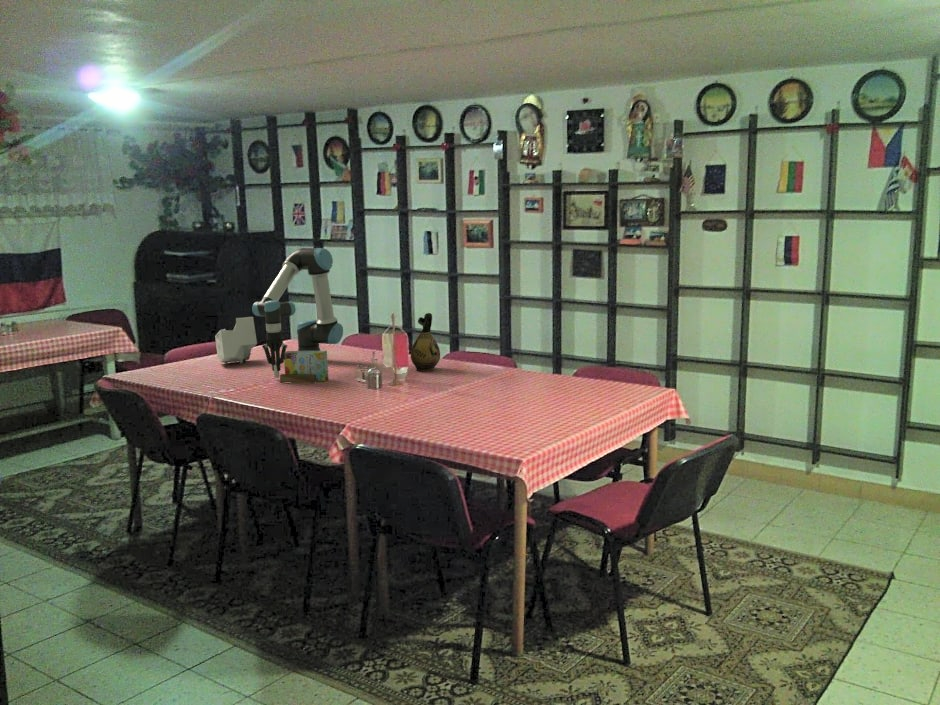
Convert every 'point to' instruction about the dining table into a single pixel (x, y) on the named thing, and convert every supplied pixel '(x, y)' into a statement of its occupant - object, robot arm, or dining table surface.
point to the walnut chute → (298, 378)
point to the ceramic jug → (425, 347)
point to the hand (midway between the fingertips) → (276, 377)
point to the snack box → (307, 363)
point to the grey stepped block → (236, 341)
